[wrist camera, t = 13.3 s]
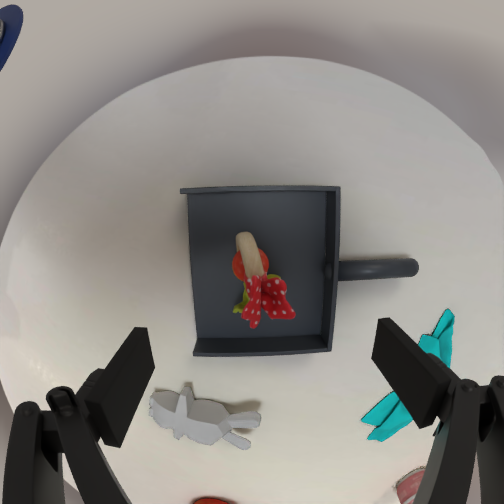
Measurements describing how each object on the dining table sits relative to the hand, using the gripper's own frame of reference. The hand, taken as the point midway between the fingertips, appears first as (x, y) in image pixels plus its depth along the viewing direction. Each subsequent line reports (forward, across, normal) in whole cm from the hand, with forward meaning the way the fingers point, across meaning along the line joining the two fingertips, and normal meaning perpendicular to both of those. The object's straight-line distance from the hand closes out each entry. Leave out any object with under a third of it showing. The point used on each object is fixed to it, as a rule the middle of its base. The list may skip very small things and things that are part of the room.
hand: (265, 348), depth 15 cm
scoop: (+18, +6, 0) cm, 19 cm away
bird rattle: (+17, 0, 0) cm, 17 cm away
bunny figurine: (+18, -8, -21) cm, 29 cm away
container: (+17, +37, -55) cm, 69 cm away
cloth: (+18, +26, -21) cm, 38 cm away
